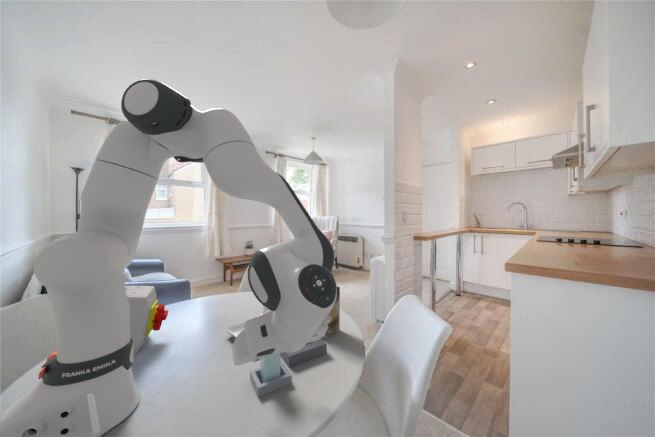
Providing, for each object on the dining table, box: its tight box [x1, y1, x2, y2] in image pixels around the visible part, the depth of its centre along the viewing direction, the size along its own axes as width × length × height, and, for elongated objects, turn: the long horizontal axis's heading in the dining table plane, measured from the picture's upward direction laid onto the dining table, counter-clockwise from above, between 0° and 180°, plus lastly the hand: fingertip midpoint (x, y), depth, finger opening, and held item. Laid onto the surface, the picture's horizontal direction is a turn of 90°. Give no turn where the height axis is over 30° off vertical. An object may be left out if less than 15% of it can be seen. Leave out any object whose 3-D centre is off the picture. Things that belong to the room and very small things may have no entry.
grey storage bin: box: [249, 360, 293, 398], centre depth 59 cm, size 8×7×3 cm
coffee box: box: [321, 286, 341, 340], centre depth 86 cm, size 9×6×16 cm
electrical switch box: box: [125, 285, 169, 356], centre depth 78 cm, size 15×15×20 cm
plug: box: [260, 353, 281, 383], centre depth 59 cm, size 4×3×11 cm
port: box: [280, 338, 328, 368], centre depth 72 cm, size 12×11×5 cm
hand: (275, 351), depth 56 cm, fingers open, 8 cm apart
